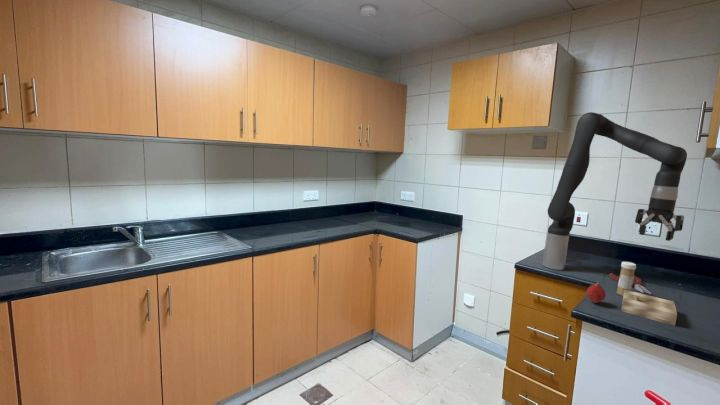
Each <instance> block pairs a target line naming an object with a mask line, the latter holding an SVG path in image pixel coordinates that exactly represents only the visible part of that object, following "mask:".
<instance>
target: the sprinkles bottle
mask: <svg viewBox="0 0 720 405" xmlns="http://www.w3.org/2000/svg"><path fill="white" fill-rule="evenodd" d="M620 267H621V268H620V273H619V277H620V278H619V282H617V283H618V284H617V289H616V290H617V291H616V294H617V295H620V296H622V297H623V295H624V290H628V291H632V289H633V287H632V285H633V282H634V280H633V279H634V276H635V270H636V269H637V264H635V263H634V262H631V261H621V264H620Z"/></svg>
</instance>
